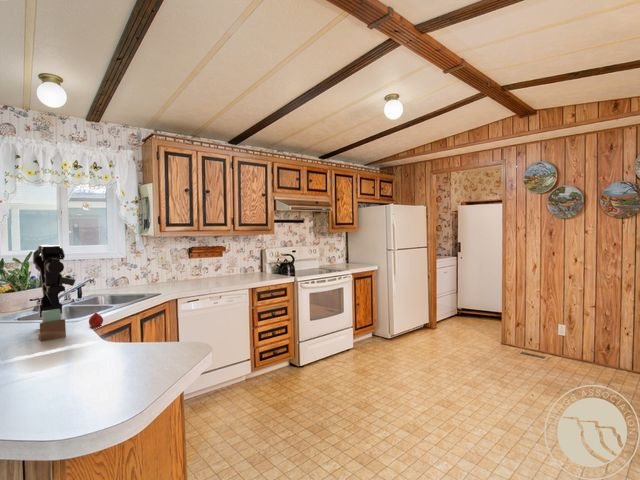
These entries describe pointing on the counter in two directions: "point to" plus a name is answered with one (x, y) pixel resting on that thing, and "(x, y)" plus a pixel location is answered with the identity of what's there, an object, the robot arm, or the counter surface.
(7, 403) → the counter surface
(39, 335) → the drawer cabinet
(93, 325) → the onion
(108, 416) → the counter surface
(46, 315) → the green rectangular block
